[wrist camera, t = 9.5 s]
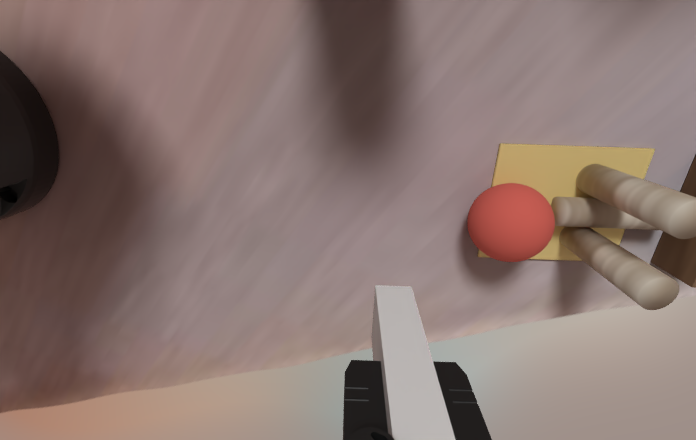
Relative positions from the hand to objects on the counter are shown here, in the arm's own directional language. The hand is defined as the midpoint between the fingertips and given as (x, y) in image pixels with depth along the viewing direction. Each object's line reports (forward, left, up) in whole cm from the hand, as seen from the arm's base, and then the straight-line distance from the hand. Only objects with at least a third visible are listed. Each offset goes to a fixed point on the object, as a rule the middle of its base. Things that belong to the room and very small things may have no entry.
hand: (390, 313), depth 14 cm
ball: (+10, -1, -12) cm, 16 cm away
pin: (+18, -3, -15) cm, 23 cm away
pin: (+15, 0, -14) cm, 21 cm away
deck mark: (+16, 0, -15) cm, 22 cm away
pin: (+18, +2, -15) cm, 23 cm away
